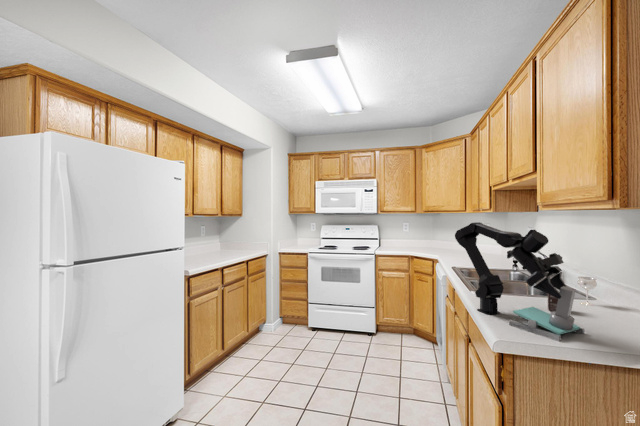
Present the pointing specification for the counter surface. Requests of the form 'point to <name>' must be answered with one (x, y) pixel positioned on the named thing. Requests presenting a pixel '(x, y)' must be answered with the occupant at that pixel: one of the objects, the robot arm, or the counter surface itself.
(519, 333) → the counter surface
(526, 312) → the trapdoor
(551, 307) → the box
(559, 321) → the gray metal handle
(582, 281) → the wineglass
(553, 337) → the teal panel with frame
